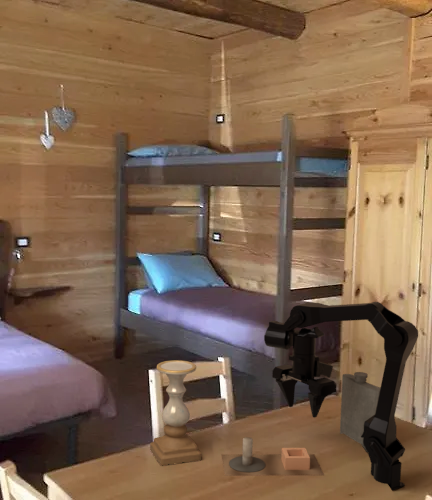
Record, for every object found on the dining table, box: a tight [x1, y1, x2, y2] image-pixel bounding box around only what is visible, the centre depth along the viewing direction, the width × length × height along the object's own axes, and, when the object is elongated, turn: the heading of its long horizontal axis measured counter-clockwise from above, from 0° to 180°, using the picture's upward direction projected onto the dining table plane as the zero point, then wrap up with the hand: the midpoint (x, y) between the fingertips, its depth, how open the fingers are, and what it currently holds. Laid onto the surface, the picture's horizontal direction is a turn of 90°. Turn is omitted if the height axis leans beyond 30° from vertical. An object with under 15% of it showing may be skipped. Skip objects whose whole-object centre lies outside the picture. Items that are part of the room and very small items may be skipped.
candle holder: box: [149, 359, 202, 466], centre depth 171 cm, size 11×11×24 cm
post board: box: [221, 436, 325, 477], centre depth 164 cm, size 24×12×8 cm, turn 93°
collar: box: [281, 447, 310, 470], centre depth 165 cm, size 6×6×3 cm
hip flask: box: [339, 371, 381, 454], centre depth 181 cm, size 16×4×20 cm, turn 26°
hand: (302, 411), depth 170 cm, fingers open, 9 cm apart
